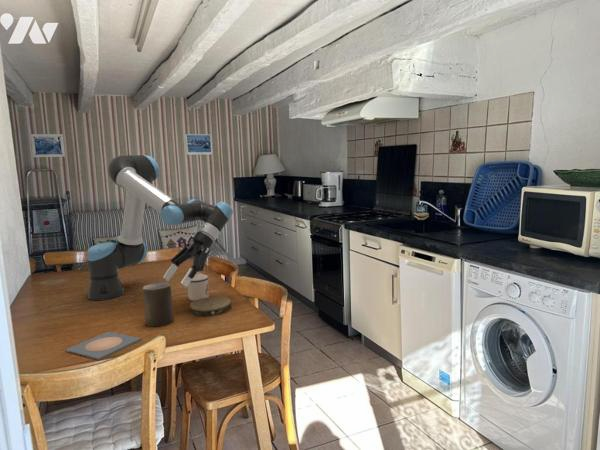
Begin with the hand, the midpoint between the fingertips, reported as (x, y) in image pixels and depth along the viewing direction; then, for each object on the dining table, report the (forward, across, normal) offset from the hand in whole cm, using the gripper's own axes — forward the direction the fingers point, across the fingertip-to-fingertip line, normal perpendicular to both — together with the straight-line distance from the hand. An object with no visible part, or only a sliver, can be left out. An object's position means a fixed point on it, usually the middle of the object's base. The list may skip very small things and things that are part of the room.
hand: (174, 282), depth 161 cm
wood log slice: (+1, +3, +19) cm, 19 cm away
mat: (+30, +6, -11) cm, 33 cm away
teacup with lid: (-4, -16, +23) cm, 28 cm away
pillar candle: (+15, 0, +5) cm, 15 cm away
